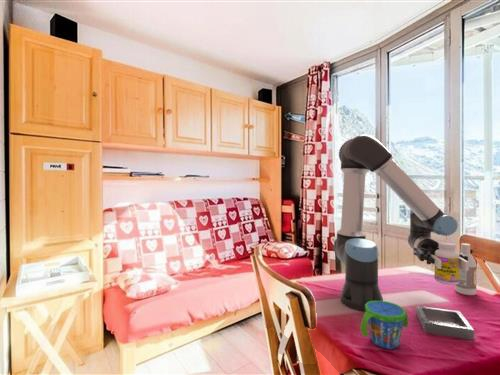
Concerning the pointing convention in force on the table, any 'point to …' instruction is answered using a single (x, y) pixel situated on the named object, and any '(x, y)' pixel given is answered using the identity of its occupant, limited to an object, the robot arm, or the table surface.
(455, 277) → the supplement bottle
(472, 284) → the bath foam
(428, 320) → the grey square tray
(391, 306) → the snack cup
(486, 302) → the table surface
